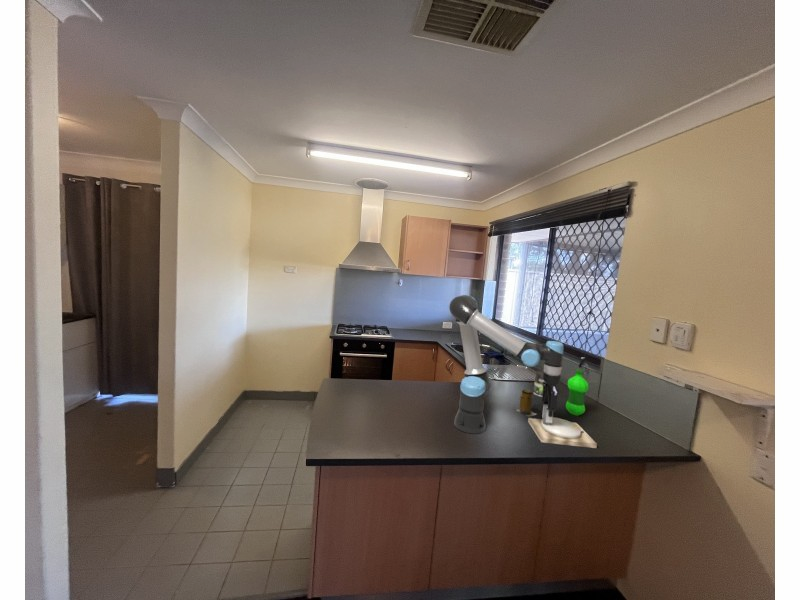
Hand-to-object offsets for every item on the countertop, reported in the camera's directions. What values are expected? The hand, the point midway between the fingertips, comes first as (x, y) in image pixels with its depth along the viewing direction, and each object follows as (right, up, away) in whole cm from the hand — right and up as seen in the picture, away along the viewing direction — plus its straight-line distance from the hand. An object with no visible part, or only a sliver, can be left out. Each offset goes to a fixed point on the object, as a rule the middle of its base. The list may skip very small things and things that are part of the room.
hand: (546, 419), depth 152 cm
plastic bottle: (+27, -6, +24) cm, 37 cm away
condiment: (-1, -4, +22) cm, 22 cm away
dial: (+6, -4, -1) cm, 8 cm away
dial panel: (+6, -7, -1) cm, 9 cm away
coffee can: (+21, -3, +51) cm, 55 cm away
